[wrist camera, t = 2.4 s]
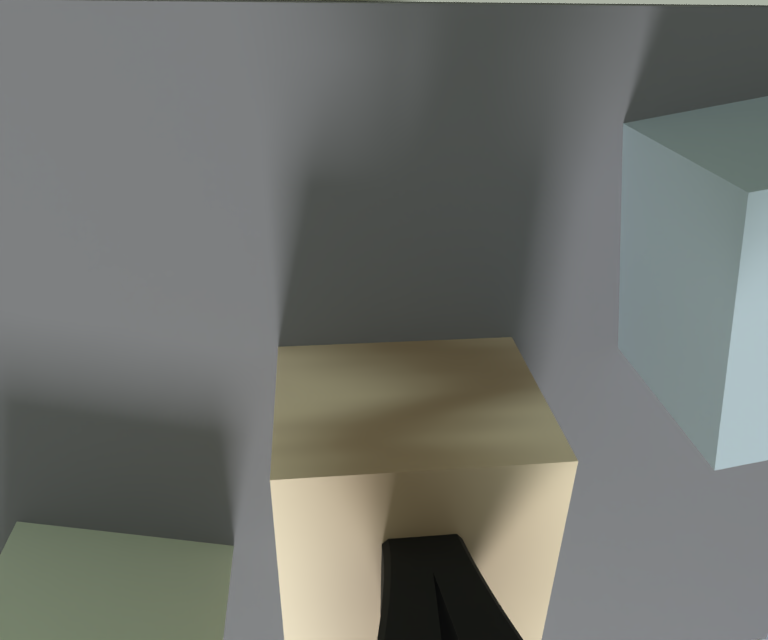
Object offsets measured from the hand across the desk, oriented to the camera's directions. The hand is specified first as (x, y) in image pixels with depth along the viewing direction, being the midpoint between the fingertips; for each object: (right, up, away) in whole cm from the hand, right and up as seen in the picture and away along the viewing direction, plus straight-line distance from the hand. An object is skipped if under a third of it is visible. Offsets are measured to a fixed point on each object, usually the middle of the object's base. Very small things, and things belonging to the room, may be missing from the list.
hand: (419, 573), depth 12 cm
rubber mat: (0, +2, +4) cm, 4 cm away
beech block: (0, +2, +3) cm, 4 cm away
